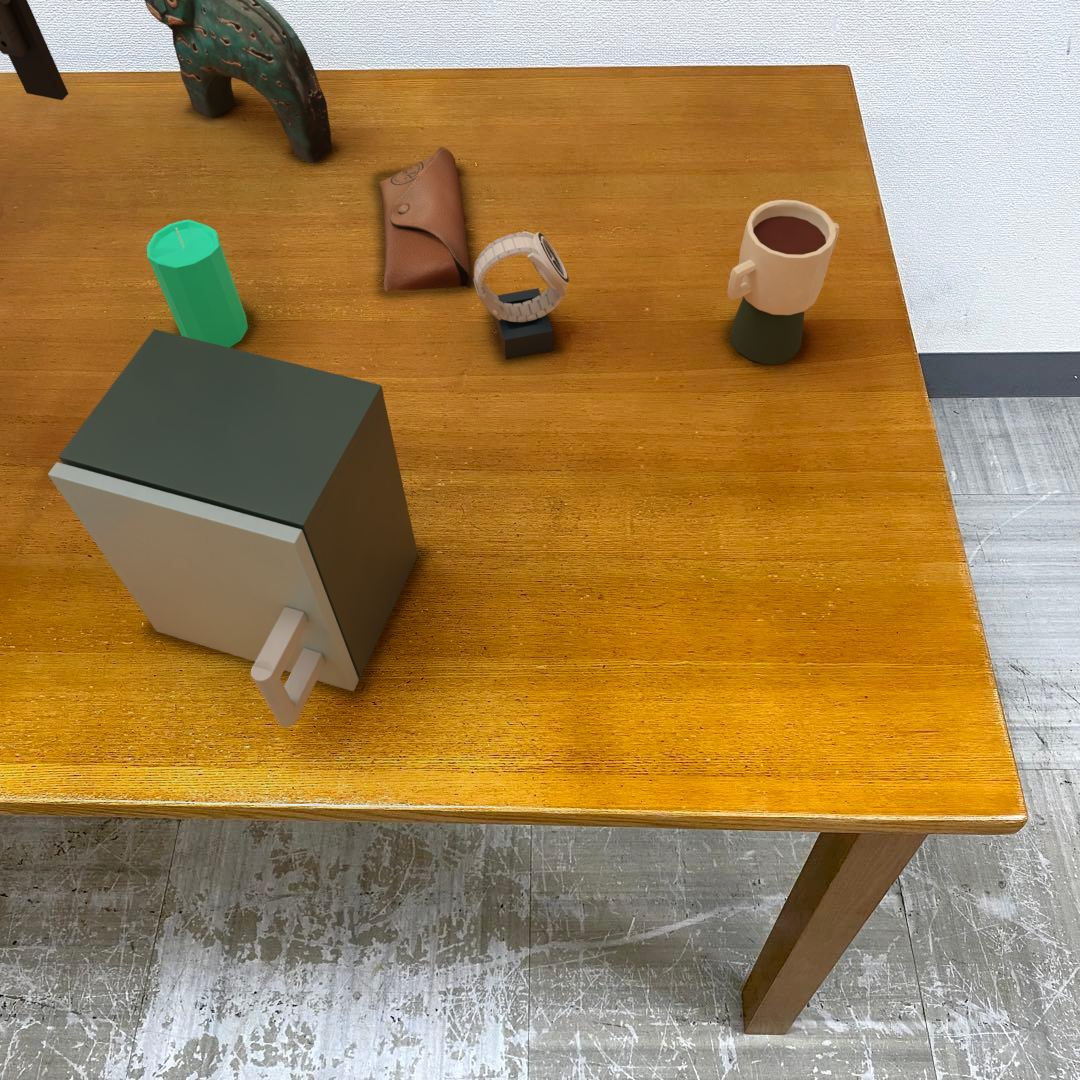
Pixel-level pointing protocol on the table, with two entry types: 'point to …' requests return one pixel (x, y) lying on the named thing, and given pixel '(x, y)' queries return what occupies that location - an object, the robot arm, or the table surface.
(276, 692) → the cabinet door
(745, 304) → the character mug
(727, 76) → the table surface
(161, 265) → the candle
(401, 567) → the cabinet
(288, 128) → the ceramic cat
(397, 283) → the sunglasses case
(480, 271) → the watch
